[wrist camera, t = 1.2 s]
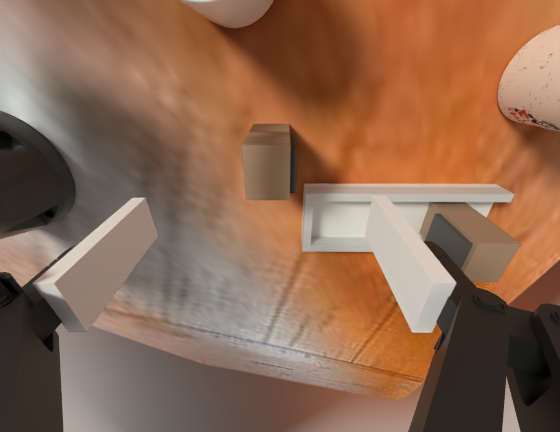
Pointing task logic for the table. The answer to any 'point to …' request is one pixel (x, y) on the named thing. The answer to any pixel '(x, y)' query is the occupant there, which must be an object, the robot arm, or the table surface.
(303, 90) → the table surface
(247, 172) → the block
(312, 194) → the rail
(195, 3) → the mug
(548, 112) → the teacup with lid
